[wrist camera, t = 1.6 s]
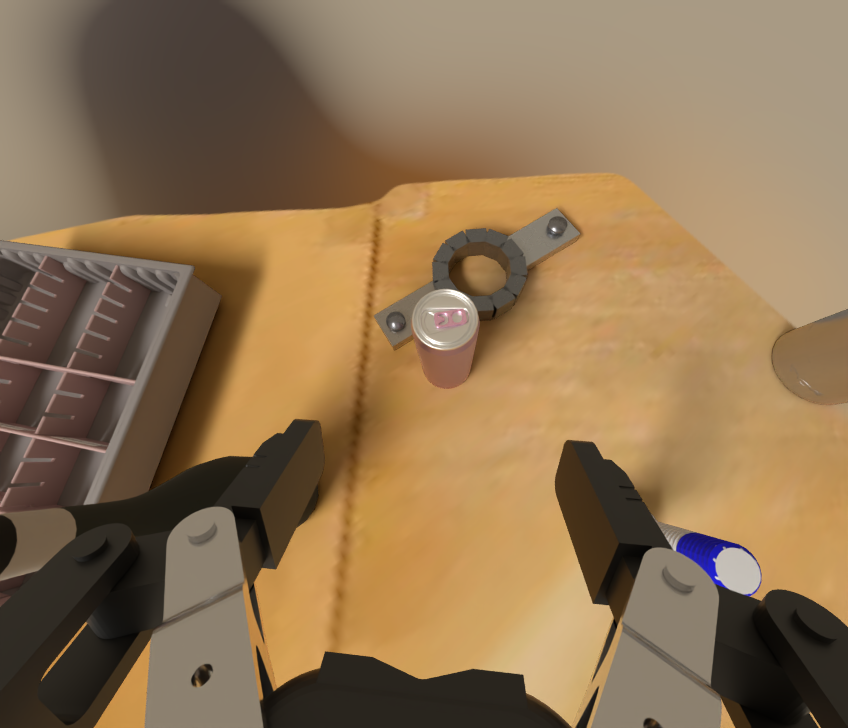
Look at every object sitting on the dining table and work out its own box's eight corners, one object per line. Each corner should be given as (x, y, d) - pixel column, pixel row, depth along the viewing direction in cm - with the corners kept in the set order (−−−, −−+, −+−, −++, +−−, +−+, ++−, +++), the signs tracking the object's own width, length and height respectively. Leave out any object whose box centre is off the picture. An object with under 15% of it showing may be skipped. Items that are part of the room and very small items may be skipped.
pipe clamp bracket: (538, 200, 49) (543, 183, 46) (592, 259, 45) (602, 245, 42) (364, 301, 46) (358, 290, 43) (407, 371, 43) (404, 365, 40)
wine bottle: (243, 511, 40) (-302, 640, 11) (276, 447, 41) (-116, 413, 13) (301, 542, 38) (-147, 782, 10) (333, 474, 40) (36, 504, 11)
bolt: (602, 493, 37) (649, 513, 36) (589, 539, 36) (637, 560, 35) (703, 514, 22) (787, 548, 21) (687, 593, 21) (775, 632, 20)
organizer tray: (235, 296, 48) (181, 255, 39) (117, 616, 38) (4, 668, 28) (45, 269, 52) (-45, 226, 43) (-109, 552, 42) (-274, 579, 32)
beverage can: (474, 386, 42) (486, 346, 27) (426, 392, 42) (413, 356, 28) (466, 341, 43) (474, 281, 29) (420, 347, 44) (405, 291, 29)
